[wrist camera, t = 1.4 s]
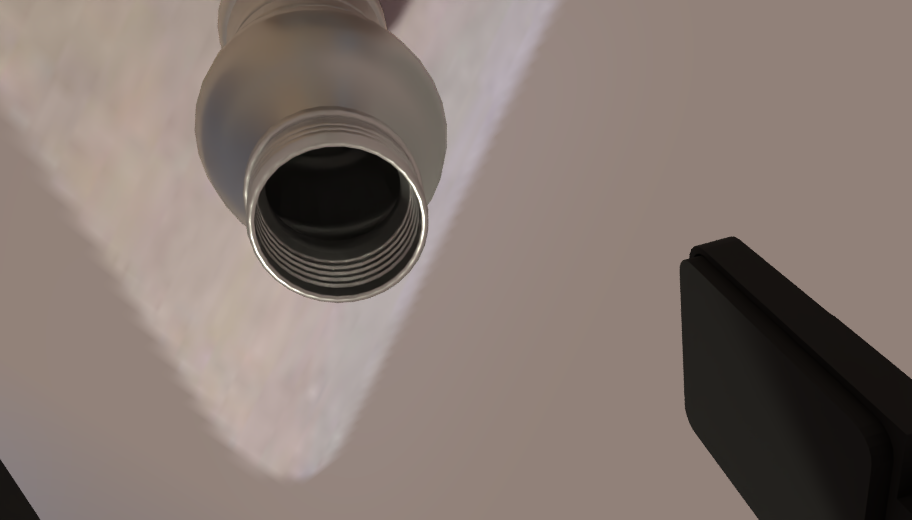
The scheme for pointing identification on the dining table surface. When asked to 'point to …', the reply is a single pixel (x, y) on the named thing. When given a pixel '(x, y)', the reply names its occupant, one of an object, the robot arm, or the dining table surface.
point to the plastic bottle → (322, 142)
